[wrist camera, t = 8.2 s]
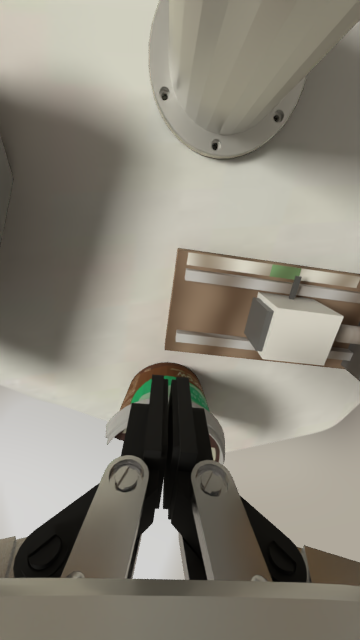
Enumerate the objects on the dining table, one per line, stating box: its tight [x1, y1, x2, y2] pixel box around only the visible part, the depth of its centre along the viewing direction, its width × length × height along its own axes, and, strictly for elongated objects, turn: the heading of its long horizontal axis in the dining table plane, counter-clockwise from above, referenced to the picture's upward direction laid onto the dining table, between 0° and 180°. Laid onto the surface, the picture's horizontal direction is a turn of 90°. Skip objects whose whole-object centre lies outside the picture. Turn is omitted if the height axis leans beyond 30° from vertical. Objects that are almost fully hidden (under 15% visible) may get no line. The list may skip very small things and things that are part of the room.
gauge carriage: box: [244, 276, 344, 366], centre depth 25 cm, size 7×7×5 cm
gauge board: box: [165, 248, 360, 381], centre depth 26 cm, size 24×11×6 cm, turn 82°
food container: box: [106, 362, 225, 465], centre depth 27 cm, size 12×6×10 cm, turn 60°
